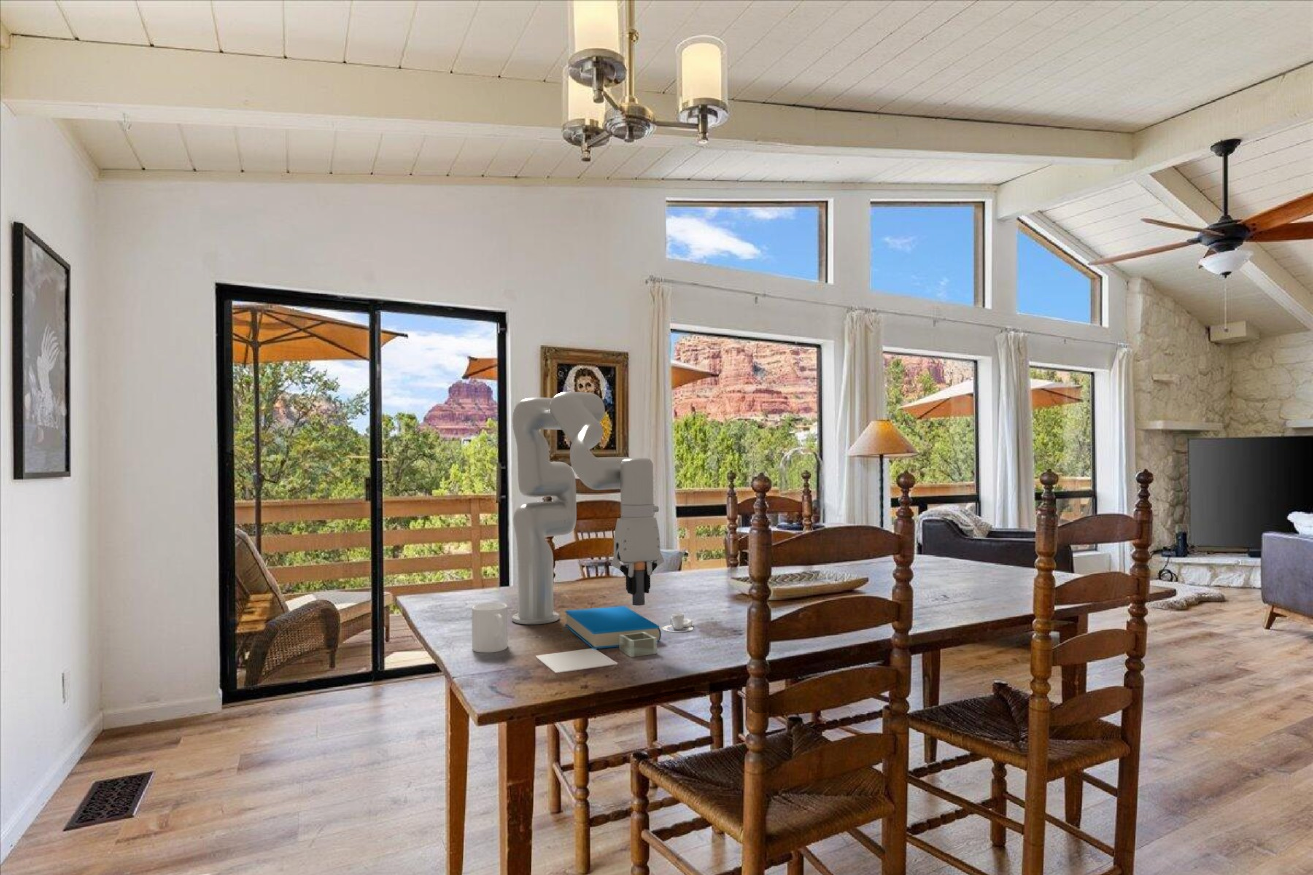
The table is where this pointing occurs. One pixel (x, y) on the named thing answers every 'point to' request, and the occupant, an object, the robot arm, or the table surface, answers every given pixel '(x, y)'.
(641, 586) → the marker
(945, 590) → the table surface
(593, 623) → the book
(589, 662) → the paper
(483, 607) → the mug
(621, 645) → the pen holder
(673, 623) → the teacup and saucer
